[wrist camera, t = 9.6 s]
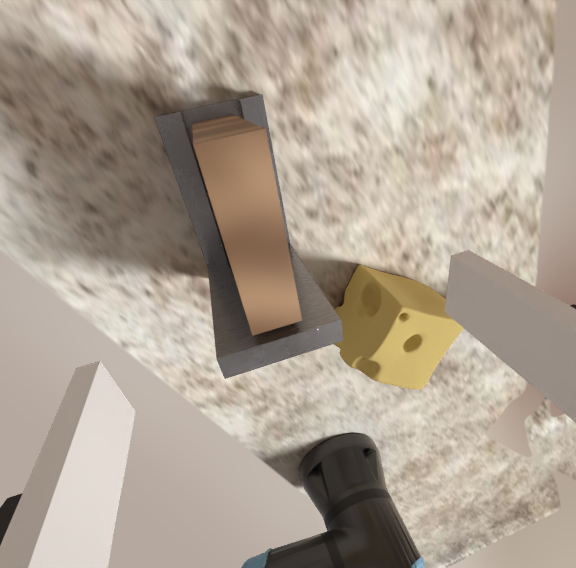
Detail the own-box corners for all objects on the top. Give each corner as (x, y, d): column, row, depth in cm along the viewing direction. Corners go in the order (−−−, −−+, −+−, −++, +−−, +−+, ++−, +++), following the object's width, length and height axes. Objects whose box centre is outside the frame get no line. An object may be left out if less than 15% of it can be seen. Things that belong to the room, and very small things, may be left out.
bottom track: (291, 256, 36) (343, 340, 24) (212, 278, 35) (224, 378, 23) (260, 94, 27) (317, 92, 15) (155, 116, 26) (123, 134, 14)
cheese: (321, 328, 43) (352, 384, 34) (358, 257, 39) (404, 302, 30) (381, 339, 47) (422, 392, 38) (420, 277, 43) (476, 321, 34)
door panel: (263, 242, 33) (302, 320, 22) (230, 250, 33) (252, 335, 21) (233, 114, 27) (265, 128, 15) (192, 123, 26) (193, 144, 15)
